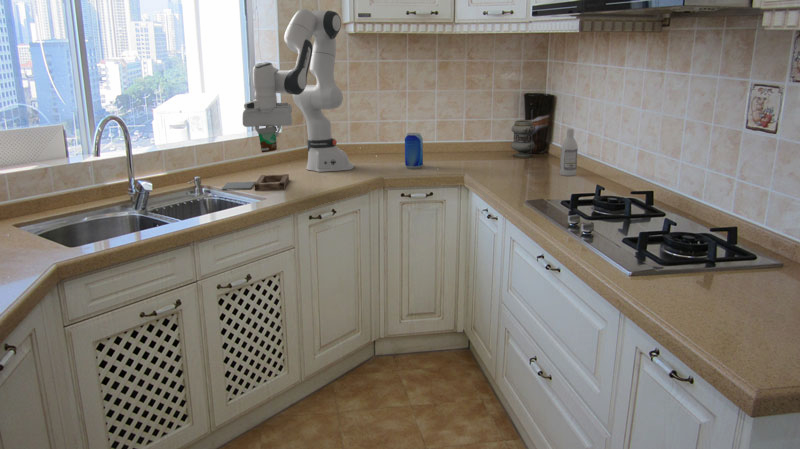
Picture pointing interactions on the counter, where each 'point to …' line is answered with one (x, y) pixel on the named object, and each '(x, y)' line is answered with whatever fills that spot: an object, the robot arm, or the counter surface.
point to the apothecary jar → (523, 138)
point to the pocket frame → (282, 184)
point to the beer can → (413, 150)
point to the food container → (268, 138)
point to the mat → (238, 185)
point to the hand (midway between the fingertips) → (268, 136)
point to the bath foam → (568, 155)
